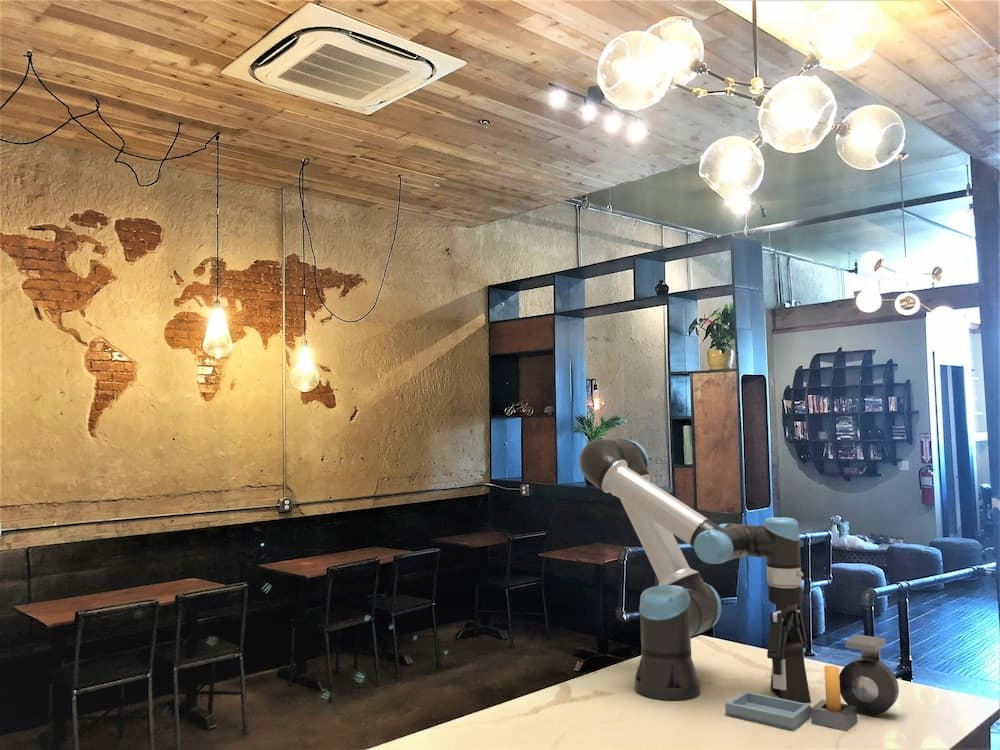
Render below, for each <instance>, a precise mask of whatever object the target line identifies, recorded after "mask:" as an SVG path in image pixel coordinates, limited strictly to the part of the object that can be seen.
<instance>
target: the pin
mask: <svg viewBox="0 0 1000 750" xmlns="http://www.w3.org/2000/svg"><path fill="white" fill-rule="evenodd" d="M839 675H840V668H839V667H838V666H835V665H825V666H824V685H825V686H824V688H825V700H826V708H827V709H829V710H834V711H839V712H841V703H842V702H841V701H842V698H841V697H842V696H841V694H840V679H839Z"/></svg>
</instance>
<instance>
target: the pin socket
mask: <svg viewBox="0 0 1000 750" xmlns="http://www.w3.org/2000/svg"><path fill="white" fill-rule="evenodd" d="M810 721H811V722H810V723H811V724H813V725H818V726H822V727H828V728H831V729H835V730H840V731H845V732H848V731H849V730H851V728H852V727H853V726H854V725H855V724H857V722H858V712H857V706H852V705H848V704H847V703H842V702H841V712H839V711H834V710H829V709H827V708H826V699H821V700H820V701H818V702H817V703H816V704H814V705H813V706H811V717H810Z"/></svg>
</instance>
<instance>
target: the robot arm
mask: <svg viewBox="0 0 1000 750" xmlns="http://www.w3.org/2000/svg"><path fill="white" fill-rule="evenodd" d="M578 461H579V469H580V471H581V473H582V475H583V477H585V479H586V480H587V481H589V482H590V483H591V484H592V485H594V486H595V487H596V488H598V489H599V490H601V491H602V492H604V493H605V494H609V493H610V494H611V495H612V496H614V497H617V498H619V500H620V502H621V504H622V506H623V508H624V511H625V513H626V514H627V516H628V519H629V520H630V523H631V526H632V527H633V529H634V531H635V533H636V535H637V538H638V539H639V541H640V544H641V545H642V548H643V550H644V552H645V554H646V556H647V558H648V560H649V563H650V565H651V568H652V569H653V571H654V573H655V575H656V577H657V580H658V585H656V586H651V587H648V588H646V589H644V590H643V591H642V593H641V594H640V599H639V607H638V608H639V618H640V619H639V621H640V644H641V656H640V660H639V663H638V667H637V670H636V673H635V677H634V690H635V691H636V692H637V693H639V694H640V695H642V696H645V697H648V698H651V699H656V700H664V701H682V700H690V699H693V698H696V697H698V696H699V695H701V682H700V681H701V680H700V679H699V676H698V673H697V670H696V667H695V664H694V662H693V661H694V660H693V659H692V658H693V657H692V640H691V639H692V637H693V636H696V635H698V634H703V633H705V632H707V631H709V630H710V629H711V628H713V627H714V626H715V625H716V624H717V623H718V621H719V620H720V617H721V613H722V602H721V599H720V595H719V593H718V592H717V591H716V590H715V587H713V586H712V585H710V584H707V583H706V582H704V579H703V578H702V577H701V574H700V572H699V571H698V570H695V569H693V568H691V567H690V566H689V564H688V562H687V559H686V557H685V555H684V554H683V551H682V549H681V547H680V545H679V543H678V541H677V539H676V538H675V536H676V537H677V538H678V539H680V540H681V541H683V542H685V543H686V544H687V545H688V546H690V547H692V548H693V549H694V552H695V554H696V556H697V557H698V559H699V560H700V561H702V562H704V563H706V564H709V565H717V564H718V565H719V564H724V563H726V562H728V561H731V560H735V559H739V558H742V557H749V558H750V557H751V558H752V557H753V558H762V559H763V558H764V559H766V582H767V584H769V585H768V586H767V598H768V601H769V602H770V603H772V604H774V605H775V611H770V612H769V630H768V641H767V653H766V656H767V658H768V659H770V660H771V664H772V665H771V672H772V671H773V688H775V689H780V690H787V688H786V668H785V660H784V659H783V656H784V650H785V644H786V642H787V639H788V638H787V637H788V636H789V638H790V641H791V642H800V643H801V644H802V646H803V658H804V659H805V653H804V652H805V651H804V649H808V644H809V643H807V642H808V638H807V632H806V628H805V621H804V618H803V617H804V616H803V612H802V611H803V610H802V609H803V608H802V607H803V606H802V603H803V601H804V600H803V599H804V598H803V588H802V587H801V585H802V582H803V581H802V577H804V573H803V572H802V563H801V536H800V531H799V522H798V521H797V519H794V518H792V517H782V516H781V517H778V516H775V517H772V516H771V517H768V518H765V520H764V524H762V525H754V524H741V523H740V524H737V523H732V522H731V523H721V524H719V525H718V524H716V523H715V522H713V521H711V520H710V519H709V518H707V517H706V516H704V515H702V514H701V513H700V512H698V511H697V510H695V509H693V508H691V507H690V506H689V505H687V504H686V503H684V502H682V501H681V500H679V499H677V498H676V497H675V496H673V495H672V494H671V493H668V492H667V491H666V490H664V489H662V488H660V487H659V486H658V485H656V484H654V483H653V482H652V481H650V480H651V477H652V476H651V475H650V472H649V471H648V470H649V463H650V461H649V456H648V454H647V451H646V450H645V448H644V447H643V446H642V445H641V444H640V443H638V442H637V441H634V440H631V439H627V438H616V439H612V438H611V439H607V438H606V439H605V438H604V439H603V438H601V439H600V438H599V439H594V440H592V441H590V442H589V443H587V444H586V445H585V446H584V448H583V449H582V450H581V452H580V454H579V459H578ZM775 652H776V653H775Z"/></svg>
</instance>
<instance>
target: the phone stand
mask: <svg viewBox="0 0 1000 750" xmlns="http://www.w3.org/2000/svg"><path fill="white" fill-rule="evenodd" d="M803 649H804V648H803V646H802V644H801V643H800V642H788V641H786V644H785V650H784V656H783V659H784V660H785V668H786V688H787V690H780V689H775V688H773V671H772V670H771V675H770V676H771V678H770V692H771V693H772V694H773V695H775V697H776V698H781V699H786V700H791V701H795V702H800V703H805V704H810V703H811V701H812V700H811V694H810V689H809V683H808V676H807V672H806V666H805V657H804V658H803ZM775 653H776V652H775Z"/></svg>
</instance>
